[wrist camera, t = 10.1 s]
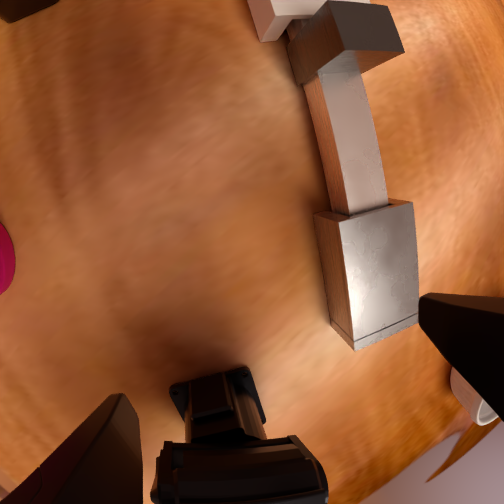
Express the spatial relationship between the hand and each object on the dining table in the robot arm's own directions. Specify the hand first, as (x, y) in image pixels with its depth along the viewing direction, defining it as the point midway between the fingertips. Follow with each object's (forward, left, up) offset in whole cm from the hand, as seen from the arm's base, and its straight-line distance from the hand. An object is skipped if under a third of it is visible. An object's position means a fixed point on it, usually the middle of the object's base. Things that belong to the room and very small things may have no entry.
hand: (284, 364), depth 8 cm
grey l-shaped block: (+9, -9, -13) cm, 18 cm away
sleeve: (-3, -9, -13) cm, 16 cm away
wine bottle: (+25, +10, -13) cm, 30 cm away
